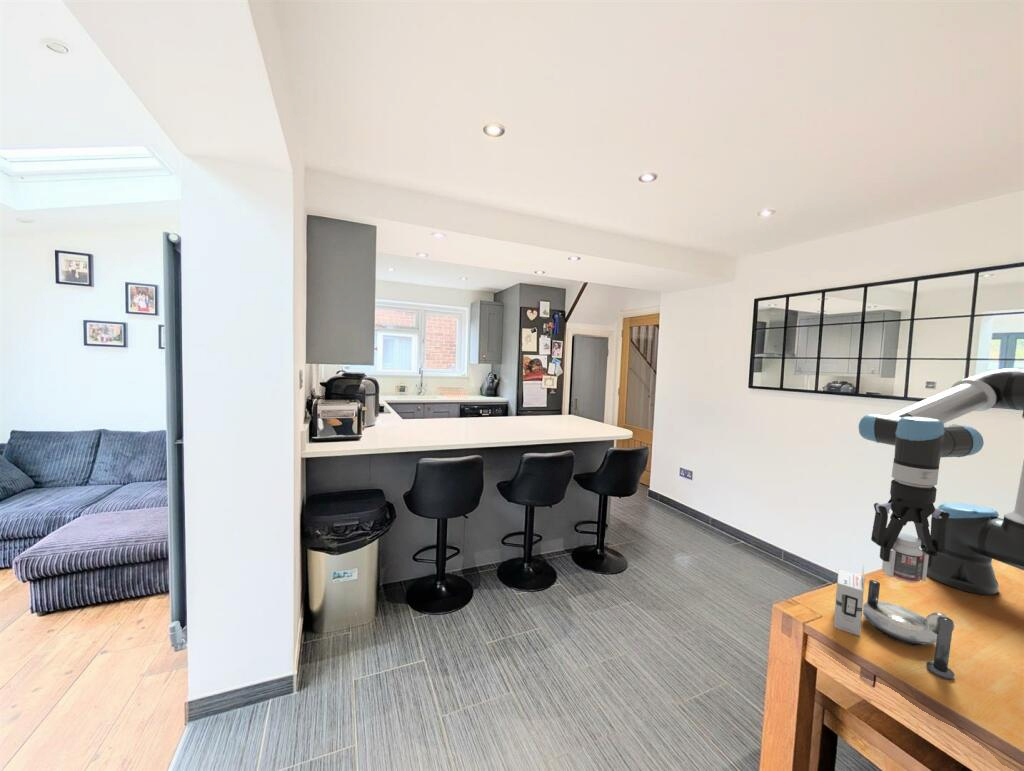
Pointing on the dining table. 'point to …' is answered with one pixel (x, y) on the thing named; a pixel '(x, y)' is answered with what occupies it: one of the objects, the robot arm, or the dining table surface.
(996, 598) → the dining table surface
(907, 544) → the pill bottle
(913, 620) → the silver round piece
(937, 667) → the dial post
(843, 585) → the ink box
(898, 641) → the turntable base
